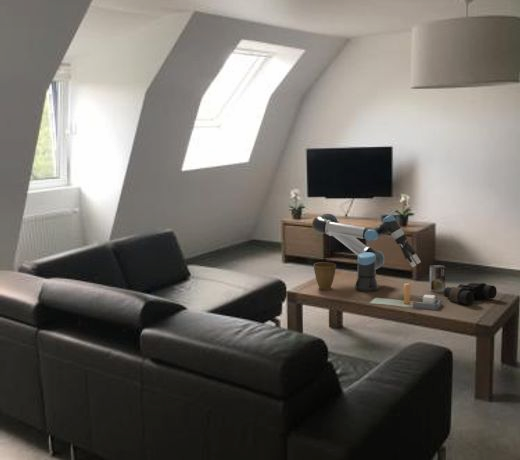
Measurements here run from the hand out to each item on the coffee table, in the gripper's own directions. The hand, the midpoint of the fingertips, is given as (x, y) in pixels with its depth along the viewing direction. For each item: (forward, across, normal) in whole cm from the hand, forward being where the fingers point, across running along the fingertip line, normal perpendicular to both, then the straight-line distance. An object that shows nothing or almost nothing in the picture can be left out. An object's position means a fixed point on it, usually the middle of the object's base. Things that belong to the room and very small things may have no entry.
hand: (416, 264), depth 400 cm
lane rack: (+16, -37, +9) cm, 41 cm away
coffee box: (+21, +2, -2) cm, 21 cm away
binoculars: (+33, -13, -19) cm, 40 cm away
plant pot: (-17, -18, +56) cm, 62 cm away
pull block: (+20, -37, +1) cm, 42 cm away
